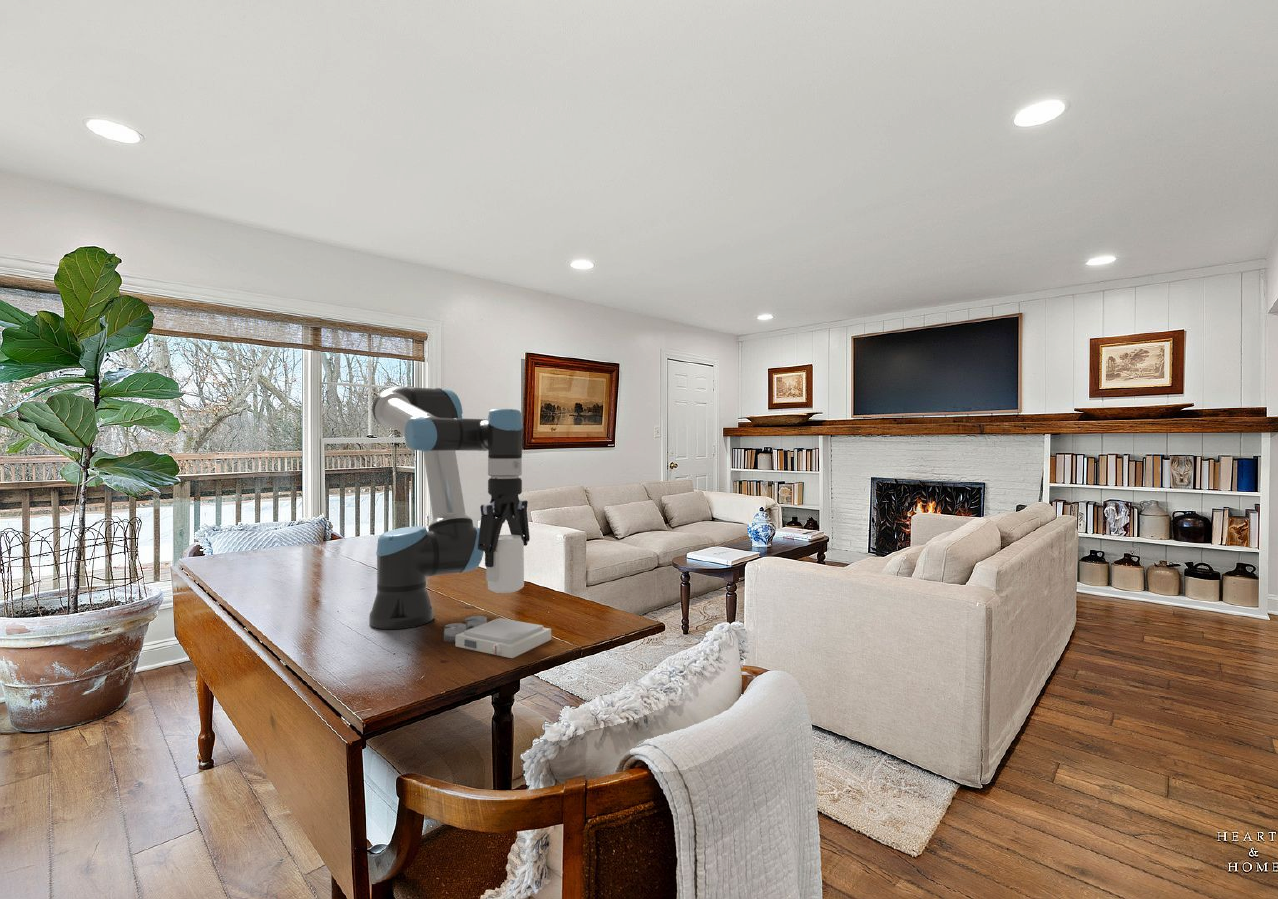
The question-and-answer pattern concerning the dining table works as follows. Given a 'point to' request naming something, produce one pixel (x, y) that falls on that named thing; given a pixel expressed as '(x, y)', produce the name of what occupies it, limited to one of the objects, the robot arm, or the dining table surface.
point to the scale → (503, 637)
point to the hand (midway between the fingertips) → (504, 577)
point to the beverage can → (509, 564)
